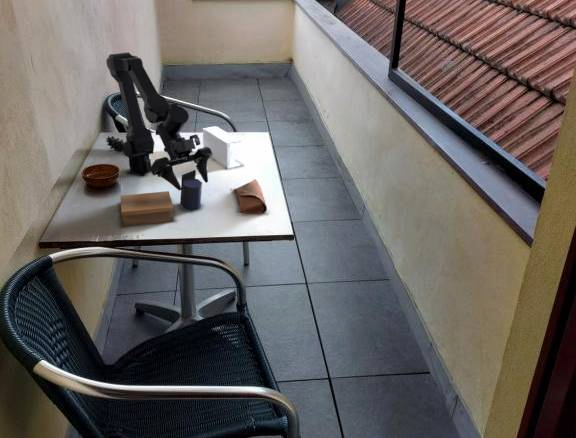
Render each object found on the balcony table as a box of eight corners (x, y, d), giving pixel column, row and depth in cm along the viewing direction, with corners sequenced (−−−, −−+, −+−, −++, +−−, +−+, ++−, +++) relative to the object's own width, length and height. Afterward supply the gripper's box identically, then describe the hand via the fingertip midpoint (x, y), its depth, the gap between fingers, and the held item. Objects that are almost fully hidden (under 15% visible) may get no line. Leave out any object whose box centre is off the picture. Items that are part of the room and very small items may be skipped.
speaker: (175, 202, 166) (176, 171, 161) (193, 199, 169) (194, 169, 164) (185, 214, 161) (186, 183, 156) (203, 210, 164) (205, 180, 159)
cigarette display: (241, 165, 195) (241, 140, 190) (227, 168, 192) (227, 143, 187) (215, 148, 209) (214, 125, 205) (201, 151, 206) (200, 127, 202)
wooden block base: (121, 203, 165) (119, 189, 163) (168, 199, 169) (167, 185, 167) (123, 226, 152) (121, 212, 150) (173, 221, 156) (172, 207, 154)
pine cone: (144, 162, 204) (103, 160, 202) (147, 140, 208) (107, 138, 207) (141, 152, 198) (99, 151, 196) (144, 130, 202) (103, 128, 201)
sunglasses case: (231, 188, 176) (242, 171, 174) (250, 197, 179) (261, 180, 177) (238, 213, 160) (250, 195, 158) (259, 223, 163) (270, 205, 161)
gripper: (151, 132, 151) (174, 182, 149) (208, 121, 162) (230, 166, 160) (140, 151, 160) (162, 198, 158) (195, 139, 171) (216, 182, 169)
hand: (193, 186), depth 161 cm, fingers open, 9 cm apart
